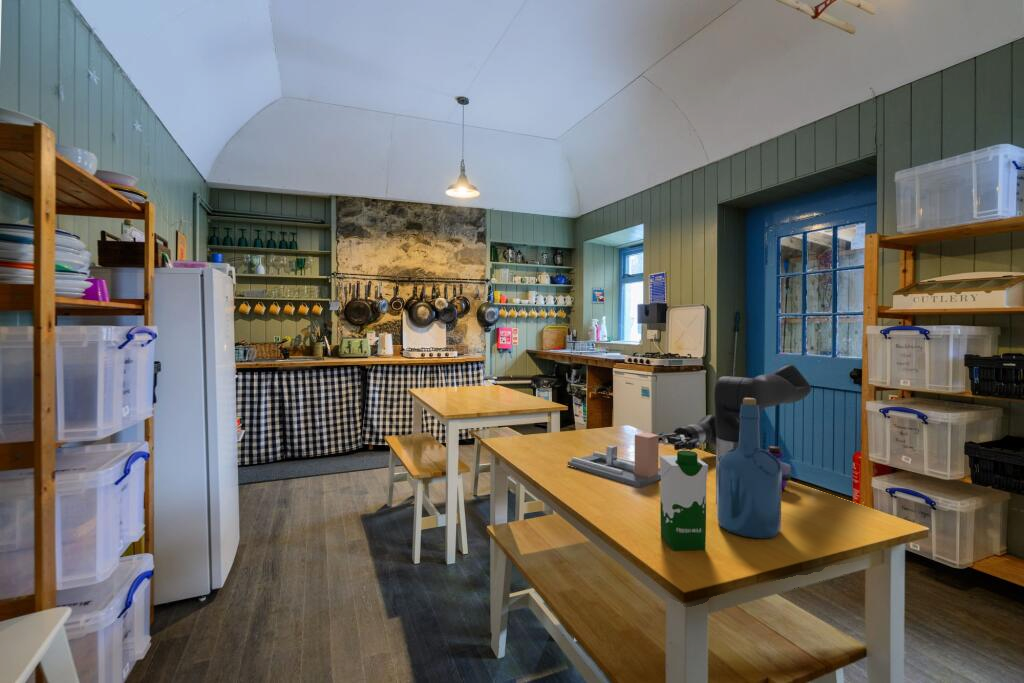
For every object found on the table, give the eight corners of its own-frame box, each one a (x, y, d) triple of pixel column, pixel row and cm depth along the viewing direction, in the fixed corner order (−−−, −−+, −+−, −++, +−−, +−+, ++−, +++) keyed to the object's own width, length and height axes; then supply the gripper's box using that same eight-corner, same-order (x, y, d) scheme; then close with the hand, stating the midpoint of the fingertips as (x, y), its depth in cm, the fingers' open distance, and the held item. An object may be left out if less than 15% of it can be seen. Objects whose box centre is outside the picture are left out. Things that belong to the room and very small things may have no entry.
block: (644, 470, 149) (644, 432, 149) (658, 474, 145) (658, 435, 145) (634, 474, 146) (634, 434, 145) (648, 477, 142) (649, 437, 141)
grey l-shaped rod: (613, 462, 157) (613, 444, 157) (643, 470, 149) (643, 451, 148) (605, 464, 155) (605, 447, 155) (635, 472, 146) (635, 454, 146)
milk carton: (669, 552, 98) (670, 456, 98) (655, 533, 107) (655, 445, 107) (711, 551, 99) (712, 455, 98) (693, 532, 108) (694, 444, 107)
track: (598, 457, 170) (598, 450, 170) (669, 476, 148) (669, 468, 148) (567, 466, 159) (567, 458, 159) (639, 487, 138) (639, 478, 138)
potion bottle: (798, 493, 133) (798, 450, 132) (766, 493, 133) (767, 450, 132) (781, 483, 141) (781, 443, 141) (751, 483, 141) (752, 443, 141)
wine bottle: (704, 523, 113) (705, 396, 112) (741, 512, 119) (743, 392, 118) (756, 546, 101) (758, 405, 100) (795, 534, 107) (797, 400, 106)
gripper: (709, 451, 157) (683, 460, 147) (670, 443, 168) (643, 451, 157) (709, 428, 157) (683, 436, 146) (670, 422, 168) (643, 429, 157)
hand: (662, 444), depth 152 cm, fingers open, 8 cm apart
